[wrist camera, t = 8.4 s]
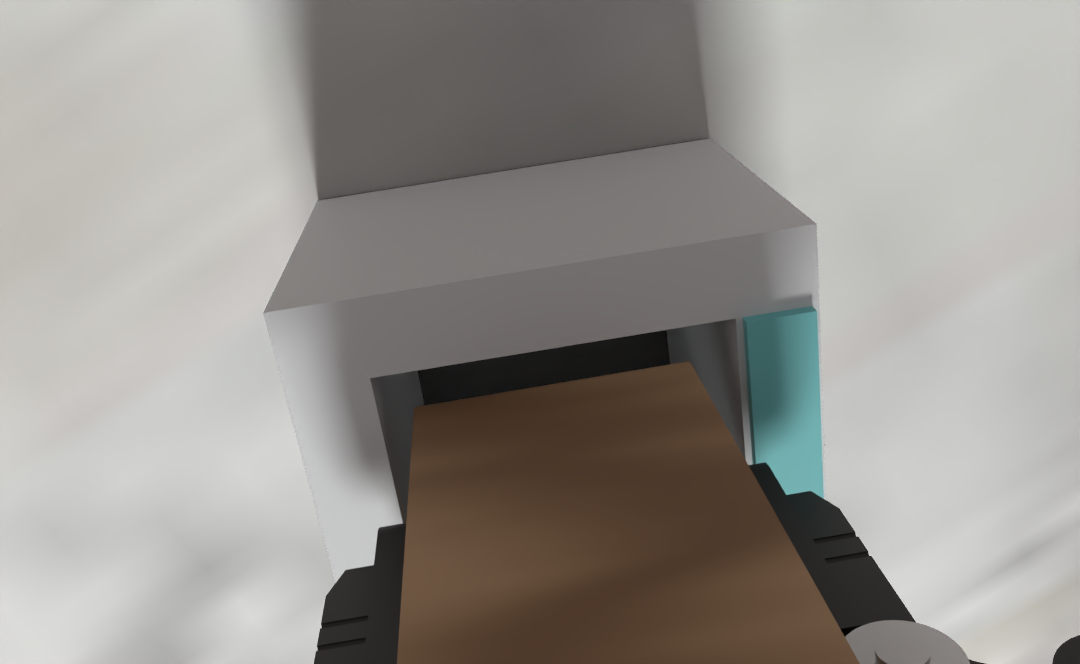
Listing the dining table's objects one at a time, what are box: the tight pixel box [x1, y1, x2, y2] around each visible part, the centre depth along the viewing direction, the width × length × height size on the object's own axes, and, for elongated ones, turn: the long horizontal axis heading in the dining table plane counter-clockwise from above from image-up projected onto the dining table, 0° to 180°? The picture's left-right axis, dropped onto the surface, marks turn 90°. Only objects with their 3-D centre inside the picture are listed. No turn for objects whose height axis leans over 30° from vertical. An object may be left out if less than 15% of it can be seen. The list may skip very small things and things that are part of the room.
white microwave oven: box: [264, 138, 826, 583], centre depth 18 cm, size 8×8×6 cm
